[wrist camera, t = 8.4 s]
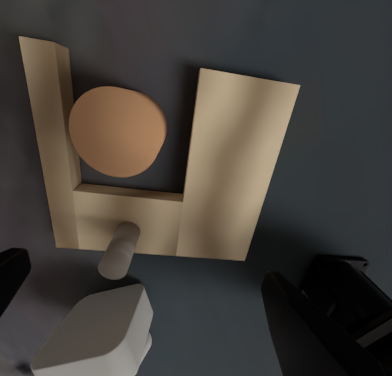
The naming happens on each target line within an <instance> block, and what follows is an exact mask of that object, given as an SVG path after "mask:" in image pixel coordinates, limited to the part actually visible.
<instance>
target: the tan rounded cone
mask: <svg viewBox="0 0 392 376" xmlns="http://www.w3.org/2000/svg"><path fill="white" fill-rule="evenodd" d="M69 133H70V137H71V140H72V143H73V145H74V148H75V149H76V151H77V153H78V154H79V155H80V157H81V158H82V159H83V160H84V161H85V162H86V163H87V164H88V165H89V166H91V167H92V168H94V169H95V170H97V171H99V172H101V173H103V174H105V175H109V176H113V177H130V176H134V175H137V174H139V173H141V172H143V171H144V170H146V169H147V168H148V167H149V166H150V165H151V164H152V163H153V161H154V160H155V158H156V156H157V154H158V152H159V150H160V148H161V146H162V145H163V143H164V140H165V138H166V135H167V120H166V117H165V114H164V112H163V110H162V108H161V107H160V105H159V104H158V103H157V102H156V101H155V100H154V99H153V98H151V97H150V96H148V95H146V94H144V93H141V92H137V91H133V90H128V89H123V88H118V87H111V86H104V87H98V88H94V89H91V90H89V91H87V92H86V93H84V94H83V95H82V96H81V97H79V99H78V100H77V101H76V102H75V104H74V106H73V108H72V110H71V113H70V117H69Z"/></svg>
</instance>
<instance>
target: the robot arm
mask: <svg viewBox="0 0 392 376" xmlns="http://www.w3.org/2000/svg"><path fill="white" fill-rule="evenodd" d="M369 265H370V263H369V262H368V261H367V260H366V259H359V258H346V257H333V256H317V257H316V258H315V260H314V262H313V264H312V266H311V268H310V270H309V272H308V274H307V276H306V278H305V280H304V282H303V284H302V286H301V288H300V290H298V289H297V288H296V287H295V286H294V285H293V284H291V283H290V282H289V281H288V280H287V279H286V278H285V277H284V276H282V275H281V274H280V273H279V272H277V271H267V273H266V275H265V277H264V280H263V282H262V285H261V293H262V297H263V302H264V307H265V311H266V316H267V321H268V326H269V330H270V334H271V338H272V341H273V344H274V348H275V351H276V354H277V357H278V360H279V364H280V367H281V370H282V373H283V376H392V300H391V299H390V298H389V297H388V296H387V295H386V294H385V293H384V292H383V291H382V290H381V289H380V288H379V287H378V286H377V285H376V284H375V283H374V282H372V281H371V280H370V279H369V278H368V277H367V276H366V275H365V274H364V272H365V271H366V269H367V268H368V266H369ZM30 270H31V262H30V258H29V254H28V251H27V250H26V249H24V248H11V249H8V250H6V251H3V252H1V253H0V317H1V316H2V314H3V313H4V311H5V310H6V308H7V307H8V305H9V304H10V302H11V301H12V299H13V297H14V296H15V294H16V293H17V291H18V290H19V288H20V287H21V285H22V283H23V282H24V280H25V279H26V277H27V276H28V274H29V272H30Z"/></svg>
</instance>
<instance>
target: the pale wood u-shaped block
mask: <svg viewBox="0 0 392 376" xmlns="http://www.w3.org/2000/svg"><path fill="white" fill-rule="evenodd" d="M19 42H20V47H21V53H22V58H23V64H24V69H25V75H26V81H27V86H28V92H29V97H30V103H31V108H32V114H33V120H34V125H35V131H36V136H37V142H38V148H39V153H40V159H41V164H42V170H43V175H44V181H45V187H46V192H47V198H48V203H49V209H50V214H51V220H52V226H53V231H54V237H55V242H56V247H58V248H72V249H86V250H100V251H105V253H104V255H103V257H102V259H101V261H100V263H99V265H98V271H99V273H100V274H101V275H102V276H103V277H105V278H107V279H111V280H117V279H121V278H123V277H124V276H125V275H126V274H127V271H128V268H129V265H130V262H131V259H132V256H133V253H142V254H156V255H170V256H184V257H198V258H212V259H226V260H240V261H245V259H246V255H247V252H248V249H249V246H250V243H251V240H252V236H253V233H254V230H255V227H256V224H257V221H258V217H259V214H260V211H261V208H262V205H263V202H264V199H265V195H266V192H267V189H268V186H269V183H270V180H271V176H272V173H273V170H274V167H275V164H276V161H277V157H278V154H279V151H280V148H281V145H282V142H283V138H284V135H285V132H286V129H287V126H288V123H289V120H290V116H291V113H292V110H293V107H294V104H295V101H296V97H297V94H298V91H299V88H300V85H295V84H289V83H284V82H278V81H272V80H267V79H261V78H255V77H250V76H244V75H238V74H233V73H227V72H221V71H215V70H210V69H204V68H200V70H199V75H198V83H197V91H196V99H195V106H194V114H193V122H192V130H191V137H190V145H189V153H188V160H187V168H186V176H185V184H184V191H183V194H179V193H169V192H160V191H150V190H141V189H131V188H122V187H112V186H103V185H93V184H84V183H82V181H81V170H80V160H79V154H78V153H77V151H76V149H75V148H74V145H73V143H72V140H71V137H70V133H69V117H70V113H71V110H72V108H73V106H74V99H73V89H72V79H71V68H70V58H69V49H68V48H66V47H64V46H62V45H59V44H57V43H55V42H50V41H45V40H39V39H33V38H28V37H22V36H19Z"/></svg>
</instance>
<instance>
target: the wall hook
mask: <svg viewBox="0 0 392 376" xmlns="http://www.w3.org/2000/svg"><path fill="white" fill-rule="evenodd" d="M152 317H153V311H152V308H151V305H150V302H149V300H148V297H147V294H146V291H145V288H144V286H143V285H142V284H134V285H129V286H125V287H121V288H117V289H112V290H108V291H104V292H99V293H95V294H91V295H89V296H87V297H85V298H83V299H82V300H80V301H79V302H78V303H77V304H76V305H75V306H74V307H73V308H72V310H71V311H70V312H69V313H68V315H67V316H66V317H65V319H64V320H63V321H62V322H61V324H60V325H59V326H58V327H57V329H56V330H55V331H54V332H53V334H52V335H51V336H50V337H49V339H48V340H47V341H46V342H45V344H44V345H43V346H42V348H41V349H40V350H39V351H38V353H37V354H36V355H35V357H34V358H33V360H32V362H31V370H32V372H33V374H34V376H135V375H136V373H137V371H138V368H139V366H140V364H141V362H142V360H143V359H144V357H145V355H146V354H147V352H148V350H149V348H150V346H151V342H152V339H151V335H150V333H149V328H150V324H151V320H152Z"/></svg>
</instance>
